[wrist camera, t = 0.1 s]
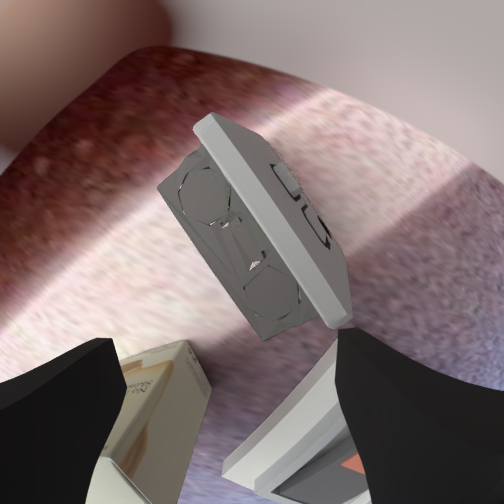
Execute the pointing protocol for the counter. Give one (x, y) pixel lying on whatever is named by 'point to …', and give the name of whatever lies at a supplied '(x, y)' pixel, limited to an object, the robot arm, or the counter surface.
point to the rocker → (329, 477)
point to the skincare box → (153, 429)
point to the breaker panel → (293, 436)
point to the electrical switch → (258, 230)
